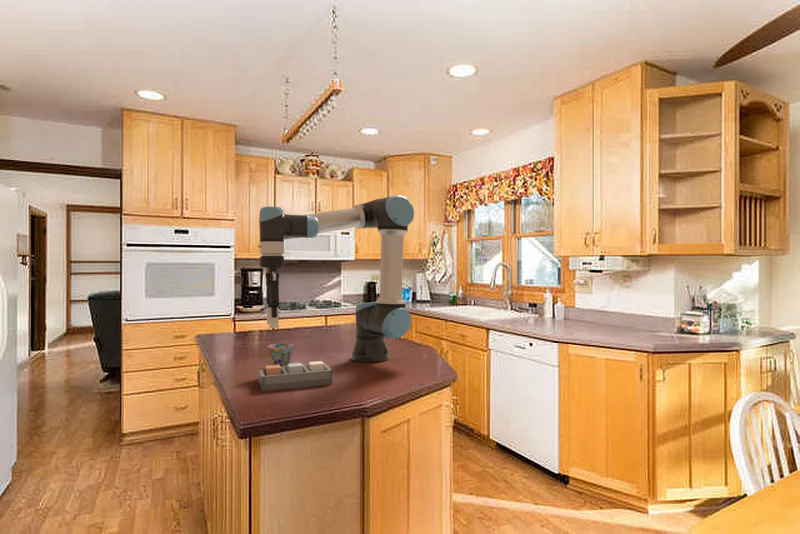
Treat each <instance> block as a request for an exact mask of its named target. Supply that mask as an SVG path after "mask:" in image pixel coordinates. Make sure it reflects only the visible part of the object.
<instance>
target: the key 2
mask: <svg viewBox="0 0 800 534" xmlns="http://www.w3.org/2000/svg"><path fill="white" fill-rule="evenodd" d="M324 363H325V362H323V360H320V361H319V360H318V361H308V364H309V370H310V371H322V370H324Z"/></svg>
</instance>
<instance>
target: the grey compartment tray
mask: <svg viewBox="0 0 800 534" xmlns="http://www.w3.org/2000/svg"><path fill="white" fill-rule="evenodd" d="M323 363H324V370H322V371H310V370H309V363H305V364H303V363H302V365H303V372H300V373H290V374H289V373H288V366H281V374H279V375H268V376H267V375H266V367H260V368H258V383H259V385H260V389H261V391H262V392H270V391H278V390H288V389H289V390H291V389H299V388H306V387H307V388H308V387H317V386H326V385H333V370H332V368H331V367H330V366H329V365H328V364H327V363H325V362H323Z"/></svg>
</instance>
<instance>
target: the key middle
mask: <svg viewBox="0 0 800 534" xmlns="http://www.w3.org/2000/svg"><path fill="white" fill-rule="evenodd" d="M287 365H288V373H289V374H290V373H300V372H303V363H301V362H295V363H291V364H287Z"/></svg>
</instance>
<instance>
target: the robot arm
mask: <svg viewBox="0 0 800 534" xmlns="http://www.w3.org/2000/svg"><path fill="white" fill-rule="evenodd" d="M414 217H415V210H414V206H413V204H412V203H411V202H410V200H409V199H408V198H407V197H406V196H403V195H390V196H387V197H381V198H377V199H373V200H370V201H368V202H363V203H359V204H355V205H353V206H352V207H349V208H343V209H337V210H330V211H323V212H316V213H310V214H309V213H308V214H303V215H302V214H287V213H285V211H284V208H283V207H281V206H280V207H279V206H263V207H261V208H260V210H259V217H258V218H259V221H258V223H259V226H258V227H259V244H258V245H257V248H259V254H260V255H261V256H260V257H259V266H260V268H261V269H262V268H267V272H265V276H264V277H265V287H266V299H265V301H266V302H265V303H266V325H267V326H269V329H277V328H279V325H280V324H279V322H280V321H279V315H280V314H279V306H280V295H279V294H280V292H279V287H280V286H279V285H280V282H279V281H280V273H278V268H285V256H283V255H284V254H285V240H288V239H289V240H291V239H305V238H306V239H312V238H313V239H314V238H316V237H317V236H318V234H323V233H328V232H335V231H341V230H345V229H347V230H348V229H352V228H356V229H358V230H361V229H377V232H378V234H380V235H381V238H380V239H381V241H380V243H381V244H380V276H379V298H378V299H377V300H376V301H372V302H371V301H370V302H360V303H357V304H356V305H355V312H354V314H355V343H354V345H353V347H352V352H351V360H352V361H354V362H358V363H359V362H360V363H379V362H384V361H388V359H389V358H390V353H389V349H388V346H387V344H386V340H385V337H386V338H388V339H399V338H402V337H404V336H405V335H406V333H408V331H409V330H410V328H411V324H412V315H411V314H410V312H409V310H407V309H406V307H407V306H406V304H407V303H406V301H405V300H404V299H403V273H404V272H403V268H404V267H403V266H404V239H405V238H404V237H405V235H406V234H407V233H408V231H409V230H408V229H409V225H410V224H411V223H412V222H413V221H414Z"/></svg>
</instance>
